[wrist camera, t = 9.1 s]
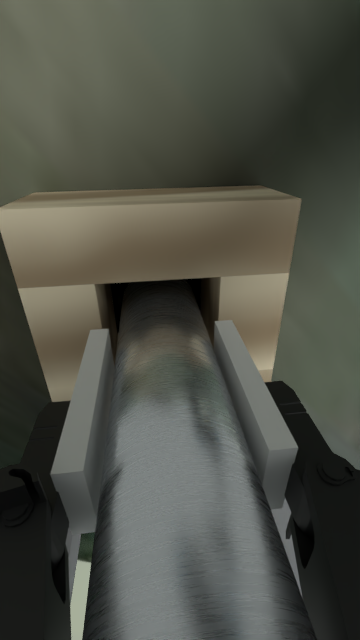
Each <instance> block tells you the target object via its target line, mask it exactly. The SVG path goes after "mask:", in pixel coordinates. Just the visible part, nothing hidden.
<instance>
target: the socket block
mask: <svg viewBox="0 0 360 640" xmlns="http://www.w3.org/2000/svg"><path fill="white" fill-rule="evenodd" d="M301 201H302V199H300V198H297V197H294V196H291V195H288V194H285V193H282V192H279V191H276V190H273V189H270V188H267V187H264V186H261V185H256V186H224V187H192V188H160V189H127V190H95V191H63V192H34V193H32V194H29V195H27V196H25V197H22V198H20V199H18V200H16V201H13V202H11V203H9V204H6V205H4V206H2V207H0V232H1V235H2V238H3V241H4V245H5V248H6V251H7V255H8V258H9V261H10V264H11V268H12V271H13V274H14V278H15V281H16V284H17V288H18V291H19V294H20V297H21V301H22V304H23V307H24V311H25V314H26V317H27V320H28V324H29V327H30V330H31V334H32V337H33V340H34V344H35V347H36V350H37V353H38V357H39V360H40V363H41V367H42V370H43V373H44V377H45V380H46V383H47V386H48V390H49V393H50V396H51V400H52V402H60V401H71V398H72V394H73V391H74V387H75V383H76V380H77V376H78V373H79V369H80V365H81V362H82V358H83V354H84V351H85V347H86V344H87V340H88V336H89V333H90V330H96V329H109V335H110V341H111V348H112V354H113V361H114V367H115V360H116V351H117V343H118V334H119V333H117V327H116V320H115V313H114V306H113V298H112V291H111V284H110V283H124V282H141V281H158V280H176V279H193V278H201V316H202V318H203V321H204V324H205V327H206V330H207V332H208V335H209V338H210V341H211V344H212V346H213V349H214V328H215V321H224V320H232V321H233V323H234V325H235V327H236V329H237V331H238V333H239V335H240V337H241V339H242V340H243V342H244V344H245V346H246V348H247V350H248V352H249V354H250V356H251V358H252V360H253V362H254V363H255V365H256V367H257V369H258V371H259V373H260V375H261V377H262V379H263V381H264V382H271V377H272V371H273V365H274V360H275V354H276V348H277V342H278V336H279V330H280V324H281V318H282V312H283V307H284V301H285V295H286V289H287V283H288V277H289V271H290V265H291V259H292V254H293V248H294V242H295V236H296V230H297V224H298V218H299V212H300V206H301Z"/></svg>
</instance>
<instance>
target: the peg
mask: <svg viewBox="0 0 360 640" xmlns="http://www.w3.org/2000/svg"><path fill="white" fill-rule="evenodd" d="M82 640H317V638H316V635H315V632H314V629H313V626H312V624H311V621H310V618H309V615H308V612H307V610H306V607H305V604H304V601H303V598H302V596H301V593H300V590H299V587H298V584H297V582H296V579H295V576H294V573H293V570H292V568H291V565H290V562H289V559H288V556H287V554H286V551H285V548H284V545H283V542H282V540H281V537H280V534H279V531H278V528H277V526H276V523H275V520H274V517H273V514H272V512H271V509H270V506H269V503H268V500H267V498H266V495H265V492H264V489H263V486H262V484H261V481H260V478H259V475H258V472H257V470H256V467H255V464H254V461H253V458H252V456H251V453H250V450H249V447H248V444H247V442H246V439H245V436H244V433H243V430H242V428H241V425H240V422H239V419H238V416H237V414H236V411H235V408H234V405H233V402H232V400H231V397H230V394H229V391H228V388H227V386H226V383H225V380H224V377H223V374H222V372H221V369H220V366H219V363H218V360H217V358H216V355H215V352H214V349H213V346H212V344H211V341H210V338H209V335H208V332H207V330H206V327H205V324H204V321H203V318H202V316H201V313H200V310H199V307H198V304H197V302H196V299H195V296H194V293H193V291H192V288H191V286H190V285H189V283H188V282H187V281H186V280H185V279H176V280H158V281H141V282H130V283H129V284H128V286H127V287H126V289H125V292H124V295H123V300H122V309H121V317H120V326H119V334H118V343H117V351H116V360H115V368H114V376H113V385H112V393H111V402H110V410H109V419H108V427H107V436H106V444H105V453H104V461H103V469H102V478H101V486H100V495H99V503H98V512H97V520H96V529H95V537H94V546H93V554H92V562H91V571H90V580H89V588H88V596H87V605H86V613H85V622H84V630H83V639H82Z"/></svg>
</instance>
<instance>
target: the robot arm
mask: <svg viewBox="0 0 360 640" xmlns="http://www.w3.org/2000/svg"><path fill="white" fill-rule="evenodd" d="M214 352H215V355H216V358H217V360H218V363H219V366H220V369H221V372H222V374H223V377H224V380H225V383H226V386H227V388H228V391H229V394H230V397H231V400H232V402H233V405H234V408H235V411H236V414H237V416H238V419H239V422H240V425H241V428H242V430H243V433H244V436H245V439H246V442H247V444H248V447H249V450H250V453H251V456H252V458H253V461H254V464H255V467H256V470H257V472H258V475H259V478H260V481H261V484H262V486H263V489H264V492H265V495H266V498H267V500H268V503H269V506H270V509H271V510H272V509H280V508H282V507H283V503H284V500H285V498H286V501H287V503H288V505H289V508H290V510H291V515H290V518H289V522H288V525H287V528H286V539H290V536H291V535H292V540H293V546H294V552H295V558H296V563H297V569H298V575H299V581H300V586H301V592H302V598H303V601H304V604H305V607H306V610H307V612H308V615H309V618H310V621H311V624H312V626H313V629H314V632H315V635H316V638H317V640H360V470H357V469H355V468H354V467H353V466H352V465H351V464H350V463H349V462H348V461H347V460H346V459H344V458H342V457H340V456H338V455H337V454H334V453H333V452H332V451H331V449H330V448H329V446H328V445H327V443H326V442H325V440H324V438H323V437H322V435H321V434H320V432H319V430H318V429H317V427H316V426H315V424H314V422H313V421H312V419H311V418H310V416H309V414H308V413H306V409H305V408H304V406H303V405H302V404H301V401H300V400H299V398H298V397H297V395H296V393H295V392H294V390H293V389H291V388H290V387H289V386H288V385H286V384H285V383H284V382H283V381H274V382H264V381H263V379H262V377H261V375H260V373H259V371H258V369H257V367H256V365H255V363H254V362H253V360H252V358H251V356H250V354H249V352H248V350H247V348H246V346H245V344H244V342H243V340H242V339H241V337H240V335H239V333H238V331H237V329H236V327H235V325H234V323H233V321H232V320H224V321H215V328H214ZM114 368H115V367H114V361H113V354H112V348H111V341H110V335H109V329H96V330H90V333H89V336H88V340H87V344H86V347H85V351H84V354H83V358H82V362H81V365H80V369H79V373H78V376H77V380H76V383H75V387H74V391H73V394H72V398H71V401H60V402H49V403H48V404H47V406H46V407H45V408H44V409H43V410H42V411H41V412H40V414H39V415H38V417H37V420H36V423H35V425H34V430H33V431H32V433H31V436H30V438H29V442H28V444H27V446H26V449H25V451H24V454H23V457H22V459H21V462H20V464H15V465H10V466H7V467H5V468H3V469H0V640H71V621H70V590H69V559H68V551H67V547H66V544H65V543H66V538H67V533H68V528H69V527H70V530H71V533H72V535H75V534H83V533H91V532H95V529H96V520H97V512H98V503H99V495H100V486H101V478H102V469H103V461H104V453H105V444H106V436H107V427H108V419H109V410H110V402H111V393H112V385H113V376H114Z"/></svg>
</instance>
